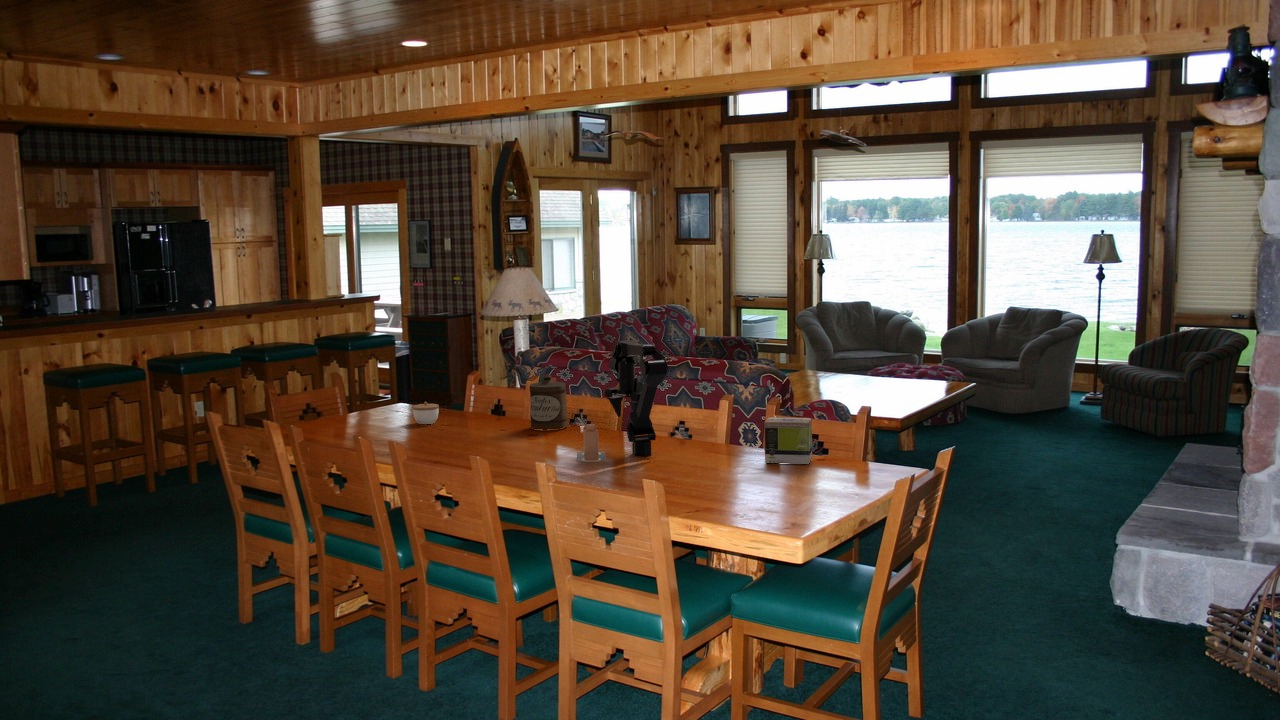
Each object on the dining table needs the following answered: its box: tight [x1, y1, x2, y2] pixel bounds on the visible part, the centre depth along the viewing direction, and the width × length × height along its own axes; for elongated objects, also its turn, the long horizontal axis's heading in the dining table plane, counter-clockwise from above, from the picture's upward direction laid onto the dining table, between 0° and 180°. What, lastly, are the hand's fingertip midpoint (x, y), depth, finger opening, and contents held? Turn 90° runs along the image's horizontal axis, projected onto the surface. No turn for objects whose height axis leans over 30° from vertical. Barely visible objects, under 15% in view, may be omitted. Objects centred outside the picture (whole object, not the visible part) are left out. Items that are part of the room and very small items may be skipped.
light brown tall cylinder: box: [583, 423, 600, 461], centre depth 350 cm, size 5×5×12 cm
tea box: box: [764, 416, 813, 465], centre depth 345 cm, size 15×10×15 cm, turn 74°
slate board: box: [576, 451, 607, 463], centre depth 355 cm, size 16×10×1 cm, turn 3°
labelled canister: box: [529, 374, 568, 430], centre depth 413 cm, size 15×15×22 cm
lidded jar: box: [412, 401, 440, 425], centre depth 428 cm, size 11×11×9 cm
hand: (627, 418), depth 366 cm, fingers open, 9 cm apart
